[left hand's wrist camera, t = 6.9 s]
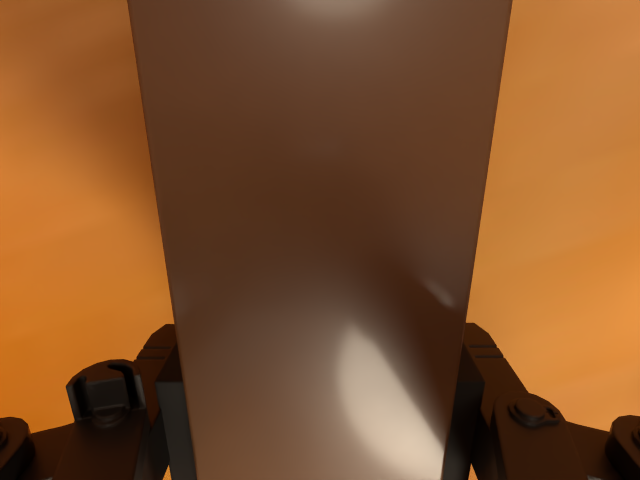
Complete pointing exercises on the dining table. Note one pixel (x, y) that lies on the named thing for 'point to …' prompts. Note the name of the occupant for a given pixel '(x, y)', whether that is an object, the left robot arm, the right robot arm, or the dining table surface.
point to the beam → (319, 222)
